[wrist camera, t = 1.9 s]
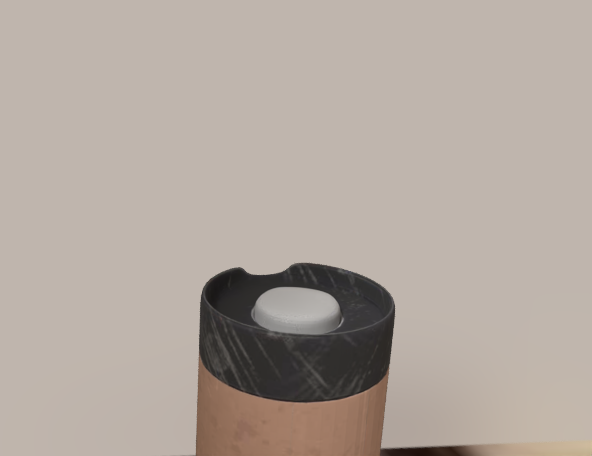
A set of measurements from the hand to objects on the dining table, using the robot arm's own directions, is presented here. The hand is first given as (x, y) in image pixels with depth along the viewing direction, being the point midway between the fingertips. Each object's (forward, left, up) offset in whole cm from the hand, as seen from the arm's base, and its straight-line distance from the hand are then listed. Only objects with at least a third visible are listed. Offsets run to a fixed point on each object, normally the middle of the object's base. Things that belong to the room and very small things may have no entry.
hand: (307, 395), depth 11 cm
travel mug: (0, +10, -22) cm, 24 cm away
